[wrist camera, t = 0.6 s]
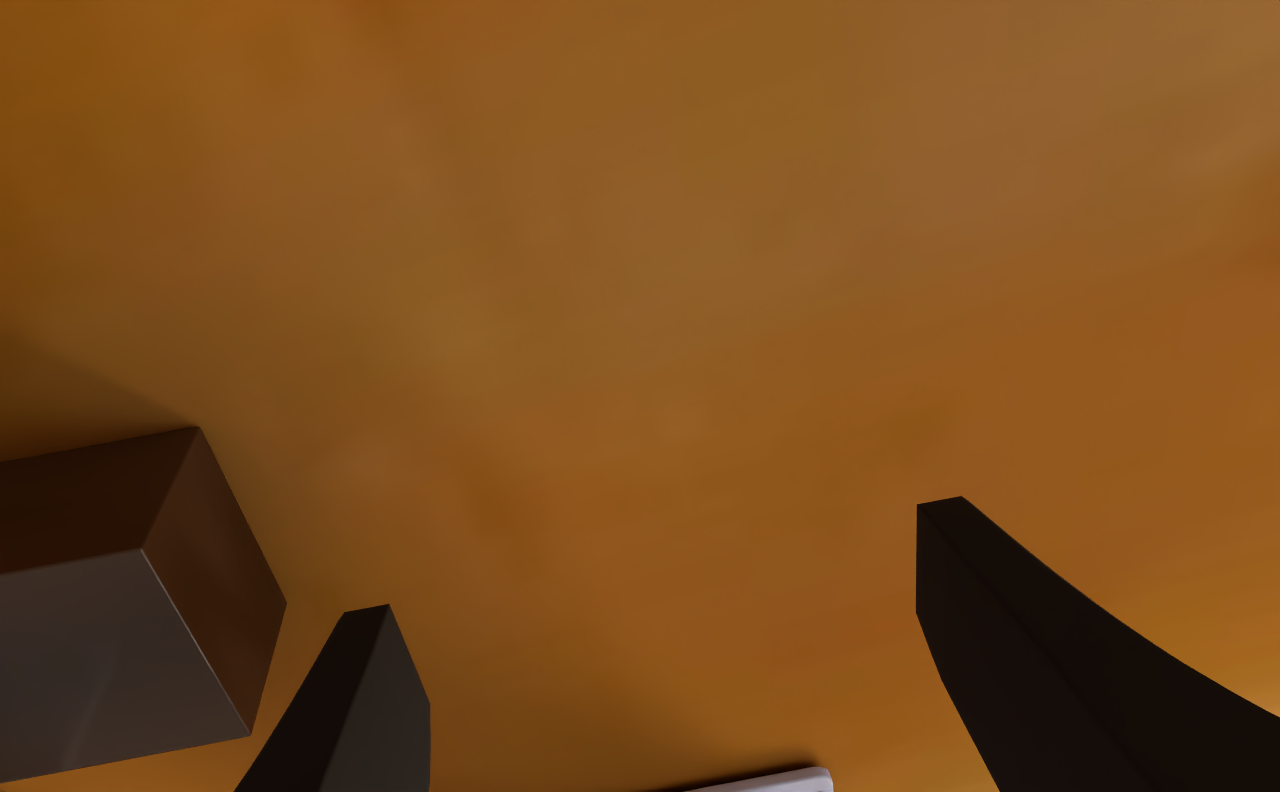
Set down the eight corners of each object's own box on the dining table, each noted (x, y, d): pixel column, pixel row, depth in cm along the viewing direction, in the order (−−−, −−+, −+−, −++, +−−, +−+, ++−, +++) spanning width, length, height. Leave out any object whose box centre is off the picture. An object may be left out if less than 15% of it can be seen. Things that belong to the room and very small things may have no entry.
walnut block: (288, 603, 24) (251, 737, 21) (69, 643, 24) (-2, 784, 21) (200, 425, 21) (141, 548, 18) (-51, 471, 21) (-157, 604, 18)
